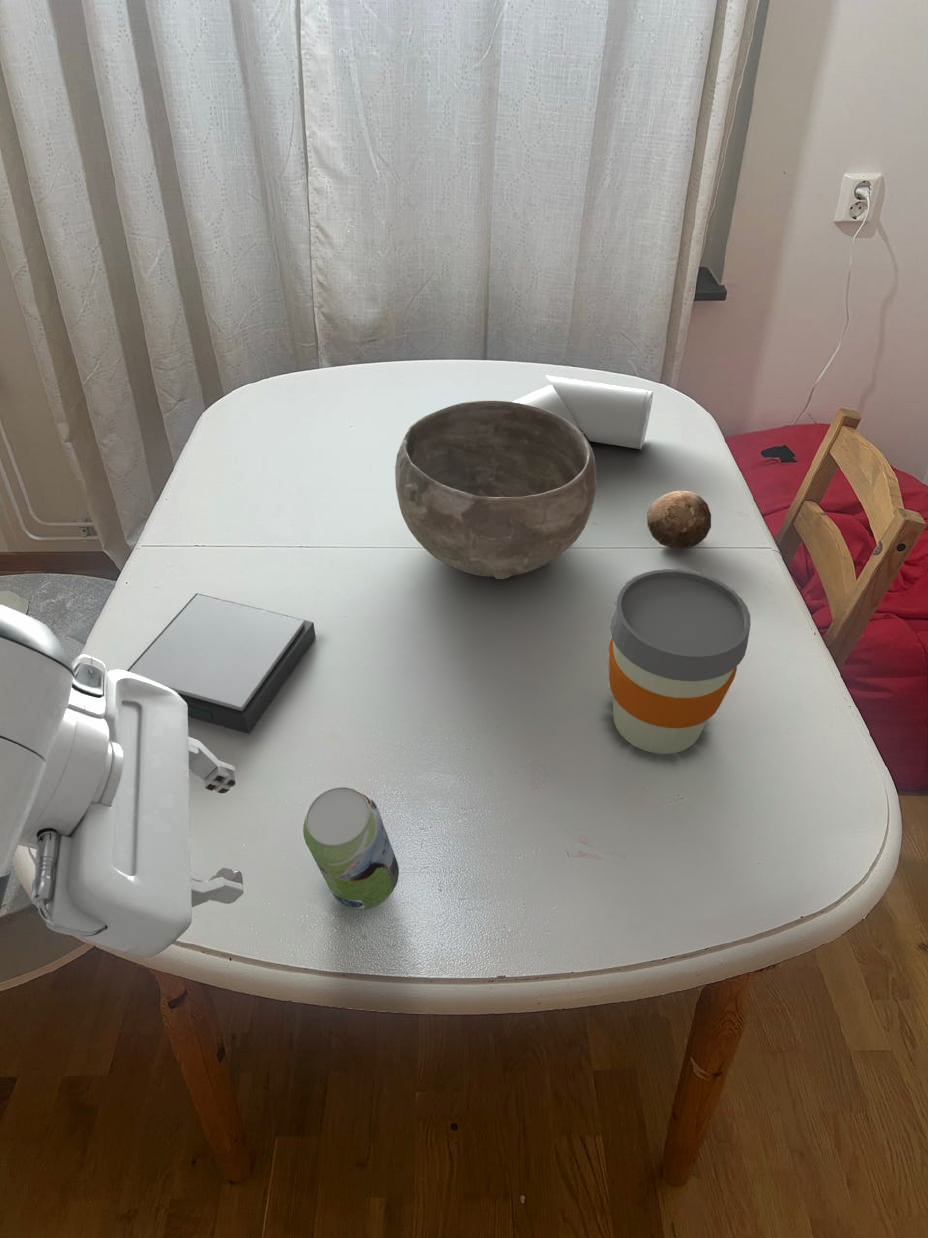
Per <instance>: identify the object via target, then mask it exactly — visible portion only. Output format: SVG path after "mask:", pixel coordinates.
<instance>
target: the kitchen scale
mask: <svg viewBox="0 0 928 1238" xmlns="http://www.w3.org/2000/svg"><path fill="white" fill-rule="evenodd" d="M315 629H316V628H315V624H314V621H312V620H306V619H304V618H303V619H302V618H298V617H294V616H291V615H287V614H283V613H278V612H275V611H271V610H266V609H262V608H259V607H254V606H250V605H246V604H242V603H238V602H233V601H230V600H226V599H222V598H217V597H214V596H209V595H206V594H201V593H199V592H196V593H195V594H194V595H193V596H192V597H191V598H190V600H189V601H188V602H187V603H186V604H185V605H183V607H182V608H181V610H179V612H178V613H177V614H176V615H175V616H174V617H173V618H172V619H171V621H170V622H169V623H168V624H167V625H166V627H164V628H163V630H162V631H161V632H160V633H159V634H158V635H157V636H156V637H155V638H154V640H153V641H152V642H151V643H150V644H149V645H148V647H147V648H145V650H144V651H143V652H142V653H141V654H140V656H138V658H137V659H136V660H135V661H134V662H133V663H132V664H131V665H130V667H128V669H127V670H126V671H128V672H131V673H134V674H136V675H139V676H142V677H145V678H147V679H150V680H152V681H155V682H157V683H159V684H162V685H164V686H166V687H168V688H170V689H172V690H174V691H175V692H177V694H178V695H179V696H180V697H181V698H182V699H183V700H184V701H185V702H186V703H187V706H188V718H192V719H196V720H199V721H202V722H206V723H209V724H214V725H216V726H220V727H224V728H228V729H230V730H234V731H238V732H241V733H245V734H248V735H249V734H251V732H252V731H253V729H254V727H255V726H256V725H257V723H258V722H259V720H260V719H261V718H262V716H263V715H264V713H265V712H266V710H267V709H268V707H269V706H270V705H271V703H273V702H272V701H273V700H274V699H275V698H276V696H277V694H278V693H279V692H280V690H281V689H282V687H283V686H284V684H285V683H286V681H288V679H289V677H290V676H291V674H292V673H293V671H294V670H295V669H296V667H297V666H298V665H299V663H300V661H301V660H302V658H303V657H304V656H305V654H306V653H307V652H308V650H309V648H310V647H311V645H312V644H313V643H314V641H315V640H316V638H317V636H316V630H315Z"/></svg>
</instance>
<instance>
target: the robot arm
mask: <svg viewBox="0 0 928 1238" xmlns="http://www.w3.org/2000/svg"><path fill="white" fill-rule="evenodd" d="M190 771H191V772H192V773H193V774H194V775H196V776H197V777H199V778H200V779H201V780H203V787H204V789H205V790H208V791H211V792H213V791H215V792H216V793H217V794H220V795H221V794H227V793H228V792H230V790H231V789H232V788H234V787H235V786H236V767H235V766H234V765H233V764H230V763H228V762H223V761H222V760H219V759H218V757H216V756H215V754H213V752H211V751H210V750H209V749H208V748H207V747H206V746H205V745H204V744H203V743H202V742H201V741H200V740H199V739H196V738H194V737H190V736H189V716H188V706H187V703H186V702H185V701H184V700H183V699H182V698H181V697H180V696H179V695H178V694H177V692H175V691H174V690H172V689H170V688H168V687H166V686H164V685H162V684H159V683H157V682H155V681H152V680H150V679H147V678H145V677H142V676H139V675H136V674H134V673H131V672H128V671H127V670H124V669H117V668H116V669H115V668H114V669H109V670H108V669H107V665H105V663H104V662H103V661H102V660H100V659H99V658H96V657H94V656H91V655H88V654H85V653H84V654H83V653H81V654H79V655H77V656H76V657H75V658H74V659H73V660H72V661H71V660H70V658H69V656H68V654H67V652H66V650H65V648H64V647H63V645H62V643H61V642H60V641H59V640H58V638H57V637H56V635H55V634H54V633H53V631H52V630H51V629H50V627H49V626H48V625H46V624H45V623H44V622H41V621H39V620H38V619H36V618H33V617H31V616H29V615H27V614H25V613H23V612H20V611H18V610H15V609H13V608H10V607H9V606H6V605H3V604H0V911H1V910H2V906H3V904H4V903H3V902H4V899H5V895H6V891H7V889H8V885H9V881H10V878H11V874H12V871H11V870H10V867H11V864H12V862H13V860H14V857H15V855H16V852H17V849H18V846H22V847H26V848H30V849H32V850H33V849H34V850H36V851H35V858H34V860H35V861H34V864H35V866H34V867H35V868H34V878H33V880H32V883H31V887H30V901H31V904H33V905H34V906H36V908H37V910H38V913H39V916H40V918H41V919H42V921H43V922H45V925H46V927H47V928H48V929H49V930H51V931H53V932H56V933H58V934H63V935H68V936H74V937H79V938H82V939H84V940H87V941H89V942H92V943H94V944H97V945H100V946H102V947H106V948H109V949H112V950H115V951H119V952H121V953H126V954H129V955H133V956H137V957H142V958H152V957H155V956H157V955H159V954H160V953H162V952H163V951H165V950H166V949H168V948H169V947H170V946H172V945H174V943H175V942H176V941H178V939H179V938H180V937H181V936H182V935H183V934H184V933H185V932H186V931H187V930H188V929H189V928H190V926H191V924H192V922H193V907H196V906H199V905H202V904H204V903H207V902H209V901H213V902H216V903H217V902H218V903H221V904H225V905H230V904H233V903H235V902H236V901H238V899H239V898H241V897H242V896H243V895H244V893H245V892H244V878H243V873H242V872H241V871H240V870H235V871H234V870H233V869H232V868H229V867H225V866H222V867H221V868H220V869H219V870H218V871H217V872H216V874H215V875H213V876H211V877H210V878H209V879H208V880H207V881H204V879H203V874H202V873H199V872H195V871H192V860H191V859H192V857H191V855H192V854H191V853H192V852H191V810H190V809H191V808H190V807H191V805H190V804H191V803H190V802H191V801H190V800H191V799H190Z"/></svg>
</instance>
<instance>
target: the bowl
mask: <svg viewBox="0 0 928 1238" xmlns="http://www.w3.org/2000/svg"><path fill="white" fill-rule="evenodd" d="M395 459H396V461H395V466H394V474H395V475H394V479H395V480H394V481H395V490H396V495H397V501H398V505H399V511H400V513H401V515H402V518H403V520H404V522H405V525H406V527H407V528H408V530H409V532H410V533H411V534H412V536H413V537H414V538H415V540H416V541H417V542H418V543H419V544H420V545H421V546H422V547H423V549H425V550H426V552H428V553H429V554H430V555H431V556H433V557H434V558H435V559H437V560H438V561H440V562H442V563H443V564H445V565H446V566H449V567H450V568H452V569H456V570H459V571H461V572H464V573H467V574H470V575H473V576H480V577H491V578H493V577H494V578H495V579H499V580H506V579H508V578H510V577H512V576H517V575H518V576H519V575H522V574H527V573H529V572H533V571H535V570H539V569H540V568H543V567H545V566H546V565H548V564H550V563H553V562H554V561H555V560H556V559H558V558H559V557H560V556H561V555H562V554H563V553H564V552H565V551H566V550H568V549H569V548H570V547H571V546H572V545H573V544H574V543H575V542H576V541H577V540H578V538H579V537H580V536H581V534H582V532H583V531H584V530H585V528H586V525H587V523H588V520H589V518H590V515H591V513H592V509H593V505H594V502H595V496H596V489H597V464H596V463H597V462H596V459H595V455H594V452H593V448H592V446H591V444H590V443H589V440H588V438H587V437H586V435H585V434H584V433H581V432H580V431H579V430H578V429H577V428H576V427H575V426H574V425H572V424H571V423H570V422H568V421H567V420H565V419H563V418H562V417H560V416H558V415H556V414H554V413H552V412H550V411H547V410H543V409H540V408H537V407H533V406H530V405H525V404H521V403H516V402H514V401H506V400H474V401H465V402H460V403H457V404H453V405H450V406H447V407H445V408H441V409H438V410H436V411H434V412H432V413H430V414H427V415H425V416H423V417H422V418H420V419H418V420H417V421H415V422H414V423H413V424H411V426H410V427H409V428H408V429H407V431H406V433H405V434H404V436H403V439H402V441H401V443H400V446H399V448H398V451H397V454H396V458H395Z"/></svg>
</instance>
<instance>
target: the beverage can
mask: <svg viewBox="0 0 928 1238" xmlns="http://www.w3.org/2000/svg"><path fill="white" fill-rule="evenodd" d="M380 813H381V812H380V811H379V808H378V805H377V804H376V803H375V800H373V799H372V798H371V797H370V796H369V795H368V794H366V793H364V792H362V791H359V790H358V789H354V788H352V787H347V786H337V787H334V788H330V789H327V790H325V791H324V792H322V793H320V794H319V795H318V796H317V797H315V798H314V800H313V801H312V802H311V804H310V805H309V807H308V809H307V812H306V815H305V817H304V821H303V827H302V832H303V839H304V842H305V845H306V846H307V848H308V850H309V852H310V854H311V856H312V858H313V860H314V862H315V864H316V865H317V867H318V870H319V871H320V873H321V875H322V877H323V878H324V881H325V883H326V884H327V886H328V888H329V890H330V892H331V894H332V895H333V897H334V899H335V900H336V901H337V902H338V903H339V904H341V905H342V906H344V907H346V908H348V909H352V910H359V911H360V910H369V909H372V908H374V907H377V906H379V905H381V904H382V903H384V902H386V900H387V899H388V898H389V897H390V896H391V895H392V893H393V892H394V891H395V888H396V887H397V885H398V881H399V876H400V867H399V863H398V860H397V857H396V854H395V851H394V848H393V846H392V844H391V841H390V838H389V836H388V833H387V829H386V826H385V824H384V821H383V819H382V815H381V814H380Z"/></svg>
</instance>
